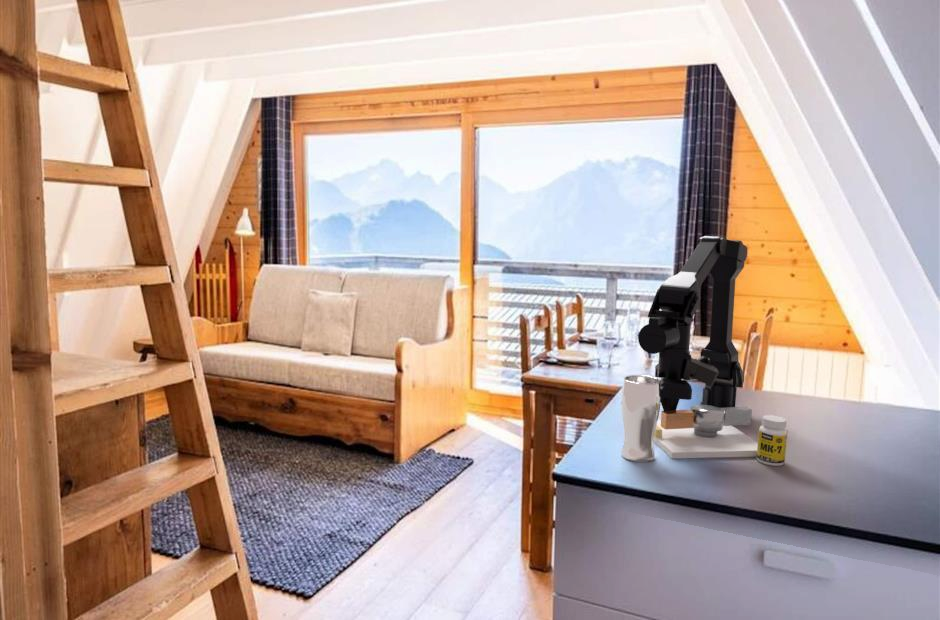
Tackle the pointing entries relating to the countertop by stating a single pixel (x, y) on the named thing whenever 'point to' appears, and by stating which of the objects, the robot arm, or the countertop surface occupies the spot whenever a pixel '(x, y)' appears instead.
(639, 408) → the beer glass
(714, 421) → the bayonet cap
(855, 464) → the countertop surface
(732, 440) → the coupling board
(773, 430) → the supplement bottle
